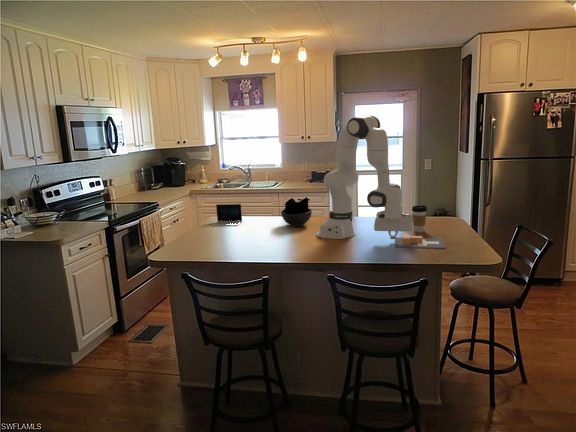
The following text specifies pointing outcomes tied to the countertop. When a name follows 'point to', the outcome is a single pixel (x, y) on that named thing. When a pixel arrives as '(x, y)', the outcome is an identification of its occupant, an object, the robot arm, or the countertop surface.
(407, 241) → the t block
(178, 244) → the countertop surface
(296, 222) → the coal bowl
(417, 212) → the coffee cup
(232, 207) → the laptop
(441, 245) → the t mat
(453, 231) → the countertop surface
